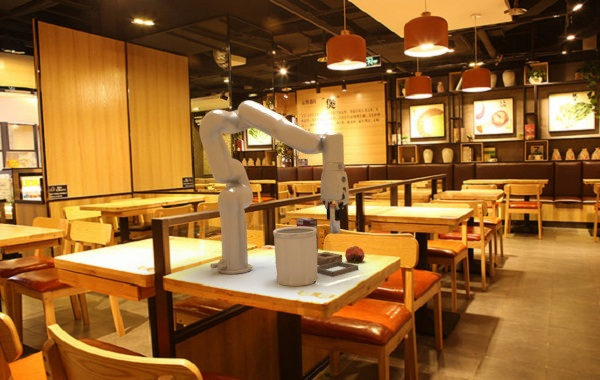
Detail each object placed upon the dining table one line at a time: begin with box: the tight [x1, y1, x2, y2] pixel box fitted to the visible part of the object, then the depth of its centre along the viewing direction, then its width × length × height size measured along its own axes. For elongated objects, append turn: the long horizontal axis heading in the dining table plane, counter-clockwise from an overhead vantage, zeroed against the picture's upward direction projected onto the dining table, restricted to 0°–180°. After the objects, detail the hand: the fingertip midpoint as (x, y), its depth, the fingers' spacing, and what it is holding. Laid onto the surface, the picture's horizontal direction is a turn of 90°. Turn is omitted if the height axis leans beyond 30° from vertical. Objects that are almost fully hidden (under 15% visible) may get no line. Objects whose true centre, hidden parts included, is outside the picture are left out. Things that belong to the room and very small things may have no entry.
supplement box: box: [296, 217, 319, 254], centre depth 189 cm, size 9×5×16 cm, turn 41°
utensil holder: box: [272, 225, 318, 287], centre depth 150 cm, size 15×15×18 cm
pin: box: [329, 203, 341, 235], centre depth 158 cm, size 3×3×10 cm
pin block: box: [317, 251, 343, 266], centre depth 171 cm, size 9×9×4 cm
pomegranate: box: [344, 245, 365, 265], centre depth 172 cm, size 7×7×10 cm
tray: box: [317, 261, 359, 278], centre depth 159 cm, size 13×10×2 cm
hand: (334, 219), depth 158 cm, fingers closed on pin, 3 cm apart
